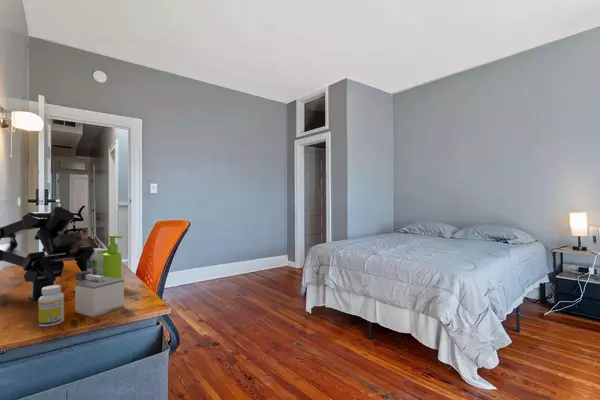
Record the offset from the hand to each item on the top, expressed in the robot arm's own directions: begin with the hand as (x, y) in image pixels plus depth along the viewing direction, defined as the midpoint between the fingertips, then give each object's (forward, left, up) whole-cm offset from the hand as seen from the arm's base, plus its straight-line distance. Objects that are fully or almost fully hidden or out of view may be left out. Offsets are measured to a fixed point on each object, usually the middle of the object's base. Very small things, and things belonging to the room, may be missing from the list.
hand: (71, 277), depth 98 cm
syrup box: (-14, +14, -9) cm, 22 cm away
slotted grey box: (+15, +1, -8) cm, 17 cm away
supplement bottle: (+14, -11, -9) cm, 20 cm away
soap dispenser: (-6, +16, -9) cm, 19 cm away
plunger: (+10, +1, -6) cm, 12 cm away
